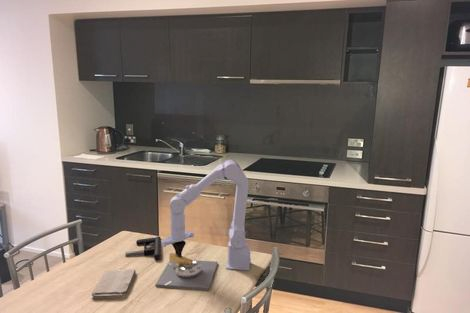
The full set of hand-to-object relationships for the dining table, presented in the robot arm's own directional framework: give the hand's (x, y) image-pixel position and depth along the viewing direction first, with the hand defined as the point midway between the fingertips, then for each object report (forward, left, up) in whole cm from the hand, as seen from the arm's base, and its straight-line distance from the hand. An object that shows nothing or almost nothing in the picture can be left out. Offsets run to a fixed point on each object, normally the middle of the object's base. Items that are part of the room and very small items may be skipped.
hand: (178, 258), depth 143 cm
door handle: (+19, -13, -5) cm, 23 cm away
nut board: (-5, +5, -4) cm, 8 cm away
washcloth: (+20, +16, -5) cm, 26 cm away
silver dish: (-3, +4, -3) cm, 6 cm away
